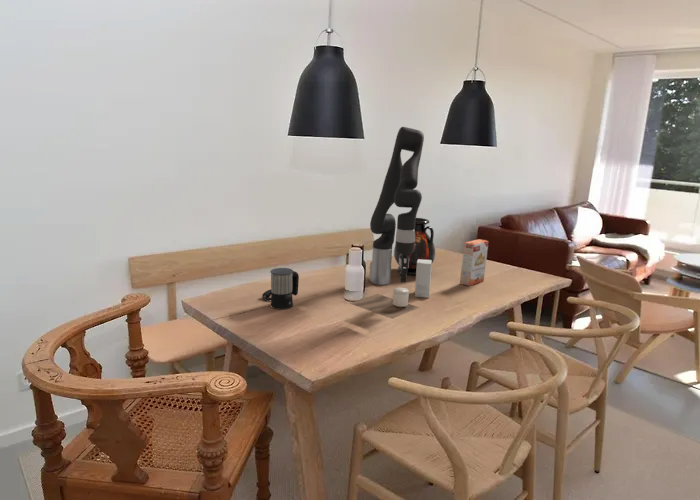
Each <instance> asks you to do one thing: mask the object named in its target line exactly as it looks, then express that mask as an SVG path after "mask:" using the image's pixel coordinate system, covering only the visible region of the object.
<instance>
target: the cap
mask: <svg viewBox="0 0 700 500" xmlns="http://www.w3.org/2000/svg"><path fill="white" fill-rule="evenodd" d="M409 292H410V290H409V289H408V288H406V287H395V288H393V293H392V294H393V295H392V299H393V304H394V305H395V306H400V307H403V306H407V305H408V304H409Z"/></svg>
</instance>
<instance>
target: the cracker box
mask: <svg viewBox="0 0 700 500" xmlns="http://www.w3.org/2000/svg"><path fill="white" fill-rule="evenodd" d="M463 243H464V244H463V250H462V251H463V252H462V262H461V270H460V271H461V272H460V280H459V284H462V285H465V286H467V287H471V286H474V285H476V284H479V283H482V282H484V281H485V280H484V279H485V272H486V264H487V258H488V250H489V240H487V239H480V238H478V239H474V240H469V241H466V242H463Z"/></svg>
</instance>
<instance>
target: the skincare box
mask: <svg viewBox="0 0 700 500" xmlns="http://www.w3.org/2000/svg"><path fill="white" fill-rule="evenodd" d="M431 263H432V260H422V259H418V261H417V268H416V276H415V287H414V291H415V293H414V297H416V298H426V299H429V298H430V291H431V279H432V277H431V275H432V264H433V263H432V264H431Z"/></svg>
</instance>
